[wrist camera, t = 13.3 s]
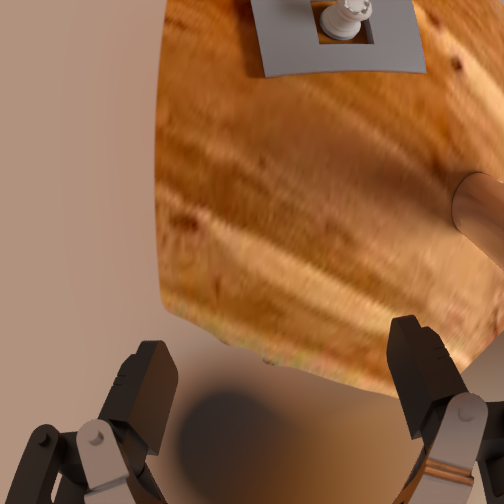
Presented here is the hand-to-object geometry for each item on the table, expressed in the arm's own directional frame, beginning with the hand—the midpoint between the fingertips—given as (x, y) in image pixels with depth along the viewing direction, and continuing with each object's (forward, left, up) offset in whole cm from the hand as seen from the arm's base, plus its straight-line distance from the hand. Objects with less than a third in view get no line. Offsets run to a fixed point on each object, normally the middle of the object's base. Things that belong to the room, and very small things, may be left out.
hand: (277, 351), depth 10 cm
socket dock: (-10, -19, -26) cm, 34 cm away
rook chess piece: (-10, -17, -26) cm, 33 cm away
